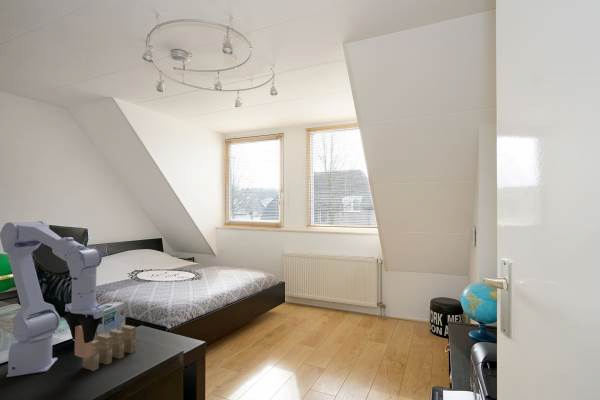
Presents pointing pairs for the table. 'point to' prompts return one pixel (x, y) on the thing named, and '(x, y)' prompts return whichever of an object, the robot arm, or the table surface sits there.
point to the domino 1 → (81, 344)
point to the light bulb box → (111, 318)
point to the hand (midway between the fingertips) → (83, 339)
